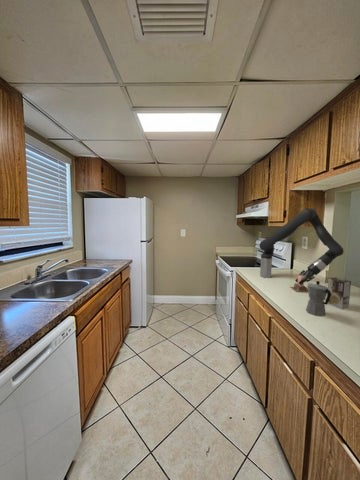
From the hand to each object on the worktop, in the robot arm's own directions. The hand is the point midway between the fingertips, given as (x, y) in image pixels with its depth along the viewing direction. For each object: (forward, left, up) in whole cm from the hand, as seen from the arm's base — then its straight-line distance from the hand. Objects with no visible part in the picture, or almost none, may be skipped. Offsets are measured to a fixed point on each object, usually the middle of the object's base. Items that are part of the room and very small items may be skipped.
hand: (297, 282), depth 148 cm
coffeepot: (+37, -5, -6) cm, 38 cm away
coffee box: (+24, +13, -6) cm, 28 cm away
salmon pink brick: (0, +2, -5) cm, 5 cm away
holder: (0, +2, -6) cm, 6 cm away
